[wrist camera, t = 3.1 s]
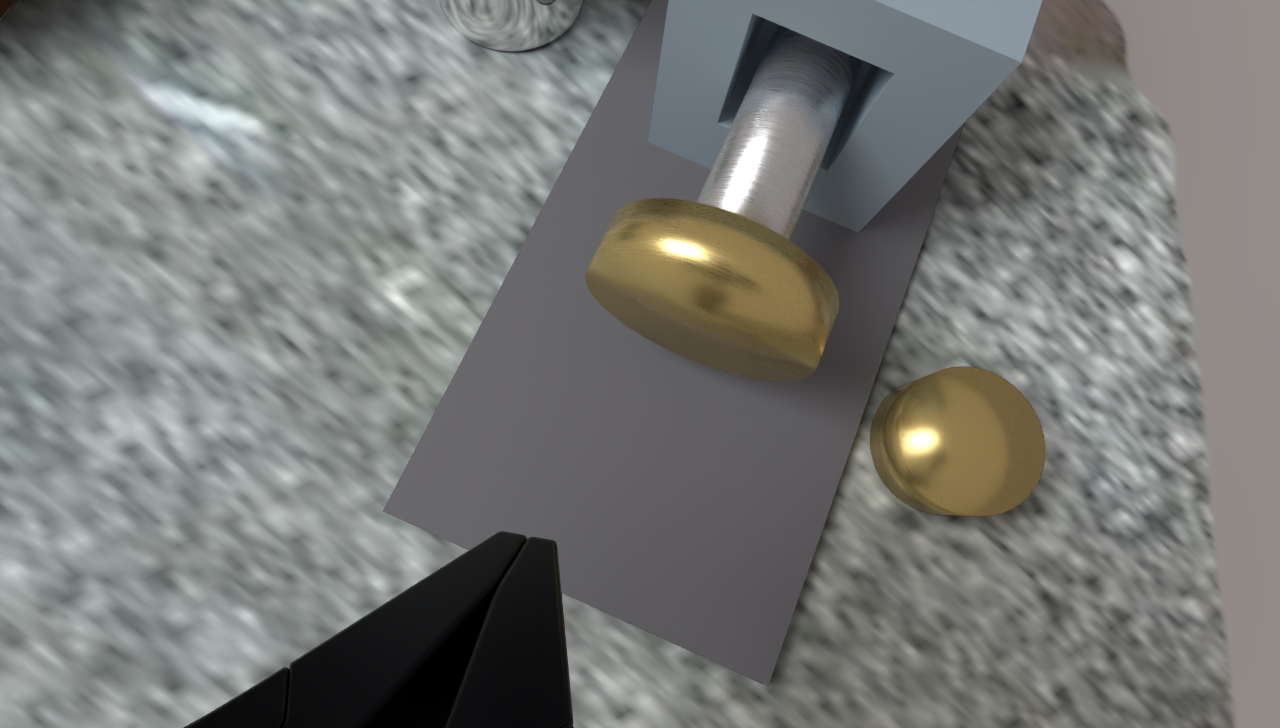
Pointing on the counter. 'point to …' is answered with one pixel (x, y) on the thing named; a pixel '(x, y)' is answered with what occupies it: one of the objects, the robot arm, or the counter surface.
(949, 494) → the gold domed disc
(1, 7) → the food container
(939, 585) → the counter surface
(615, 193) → the mat
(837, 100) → the shaft
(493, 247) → the counter surface
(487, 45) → the beer glass
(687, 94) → the bearing block
